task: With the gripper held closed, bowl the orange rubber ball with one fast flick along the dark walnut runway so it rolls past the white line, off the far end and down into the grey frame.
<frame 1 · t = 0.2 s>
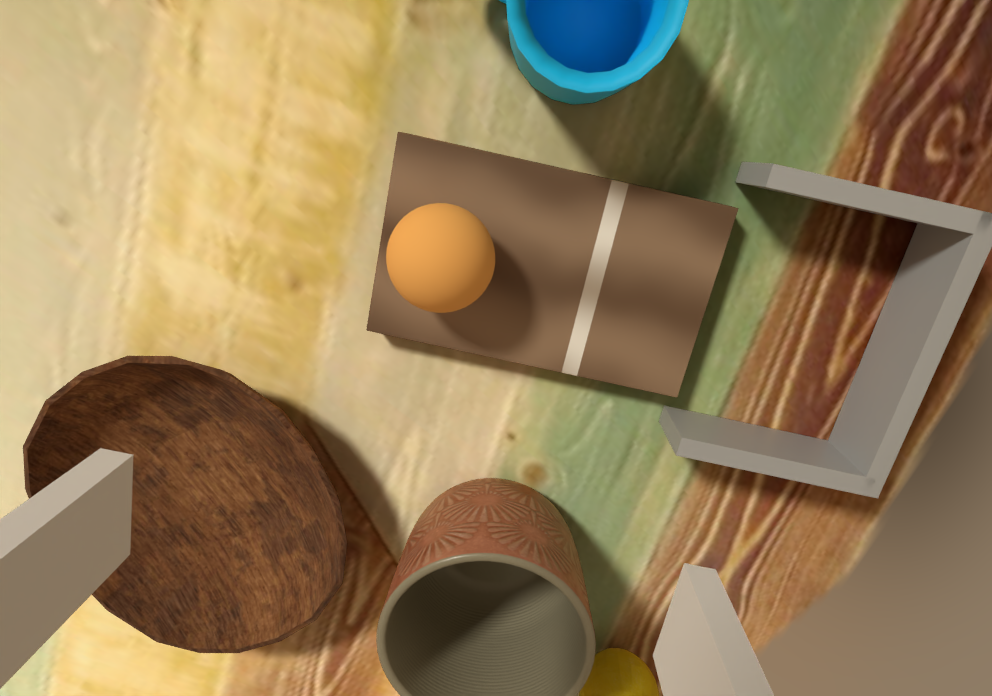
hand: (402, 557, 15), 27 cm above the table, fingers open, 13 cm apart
ball: (441, 258, 35), point 5 cm above the table, touching runway
runway: (543, 265, 40), on the table
bowl: (222, 477, 46), on the table
planter: (493, 534, 46), on the table
fruit: (611, 651, 49), on the table
grey frame: (788, 319, 41), on the table
mug: (549, 14, 36), on the table
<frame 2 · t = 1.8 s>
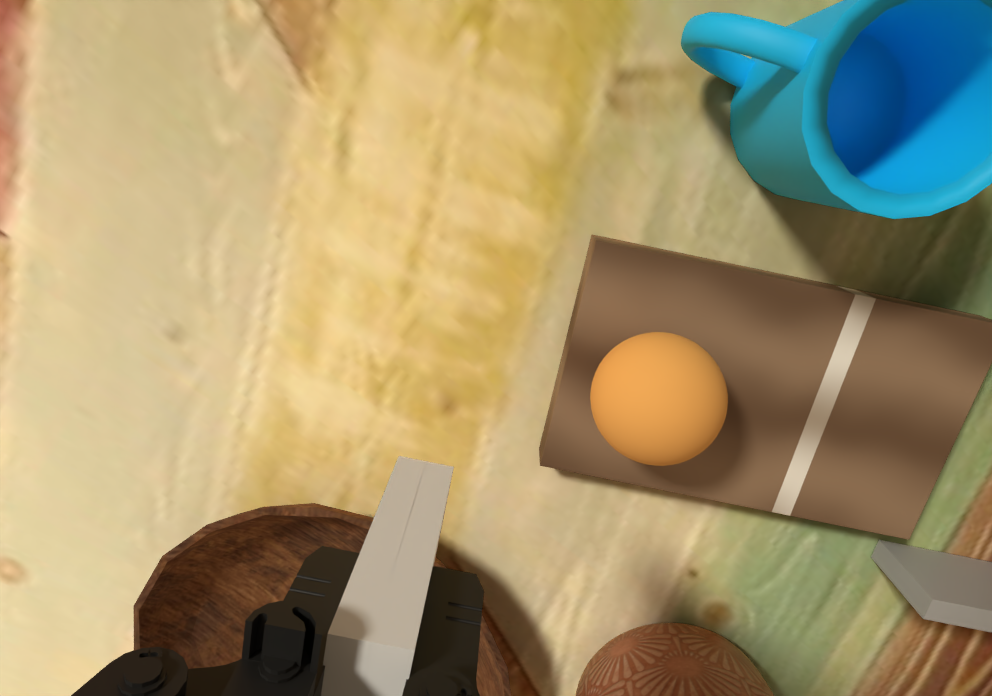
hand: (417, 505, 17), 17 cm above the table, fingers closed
ball: (657, 398, 29), point 5 cm above the table, touching runway
runway: (749, 385, 34), on the table
bowl: (348, 616, 40), on the table
planter: (661, 678, 40), on the table
mug: (779, 94, 30), on the table
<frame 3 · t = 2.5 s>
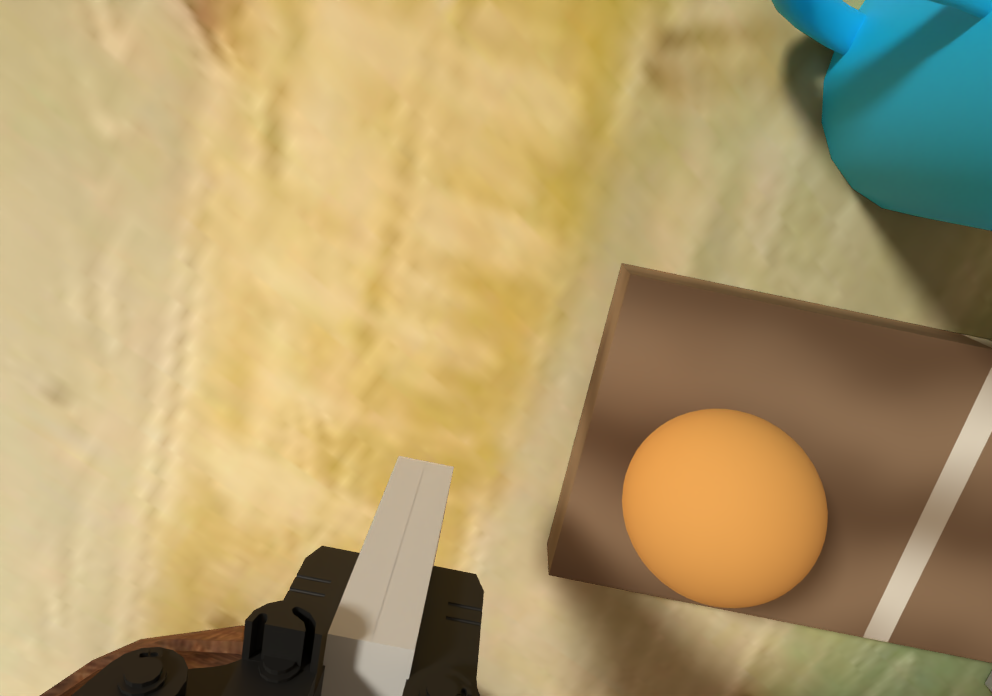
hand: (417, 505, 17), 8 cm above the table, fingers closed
ball: (719, 504, 20), point 5 cm above the table, touching runway
runway: (832, 465, 25), on the table
mug: (895, 65, 21), on the table
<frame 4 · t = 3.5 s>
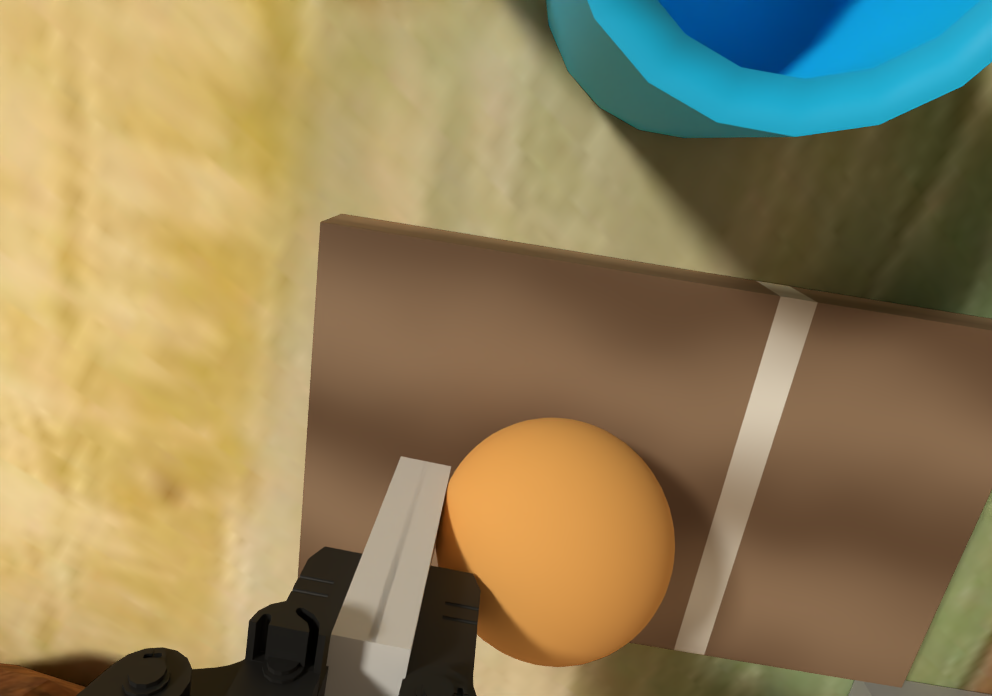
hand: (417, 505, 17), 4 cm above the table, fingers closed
ball: (553, 535, 16), point 5 cm above the table, tilted 36°, touching gripper
runway: (629, 446, 21), on the table
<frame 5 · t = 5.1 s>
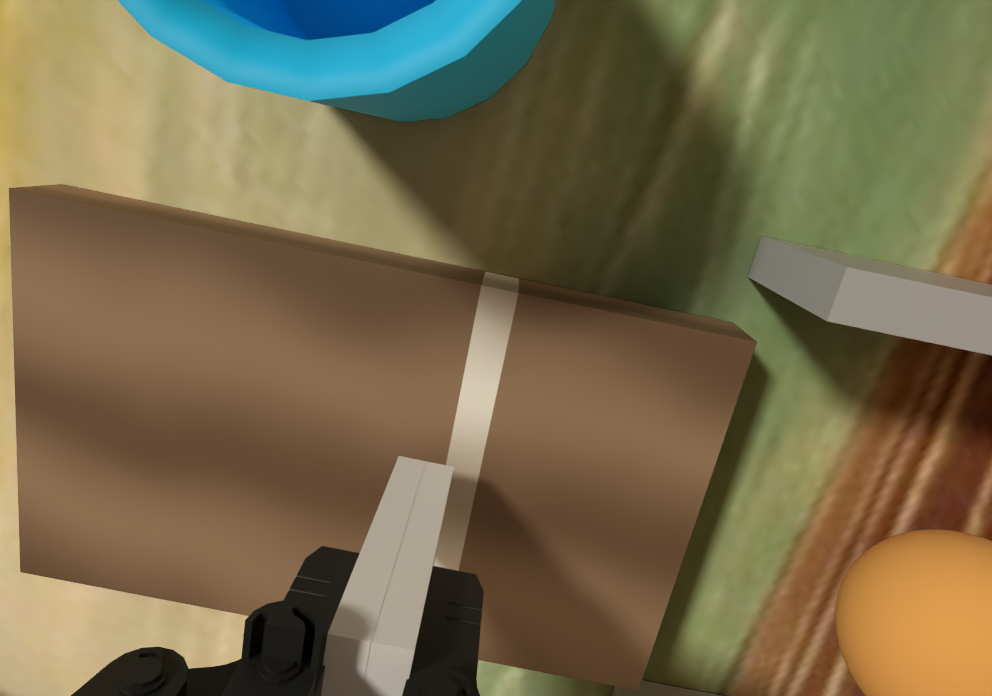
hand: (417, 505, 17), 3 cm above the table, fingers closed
ball: (953, 637, 18), point 3 cm above the table, tilted 76°
runway: (373, 437, 20), on the table
grey frame: (855, 533, 21), on the table
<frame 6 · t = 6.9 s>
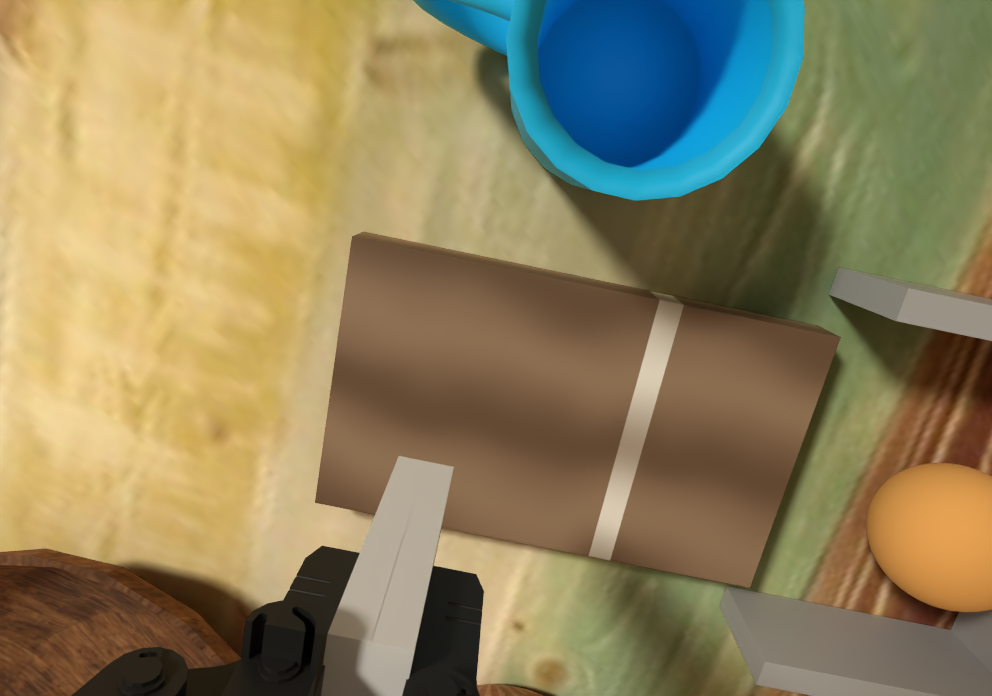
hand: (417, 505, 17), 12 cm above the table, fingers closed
ball: (948, 535, 27), point 3 cm above the table, tilted 56°
runway: (561, 407, 29), on the table
bowl: (130, 677, 34), on the table
grey frame: (900, 475, 29), on the table
mug: (566, 68, 25), on the table
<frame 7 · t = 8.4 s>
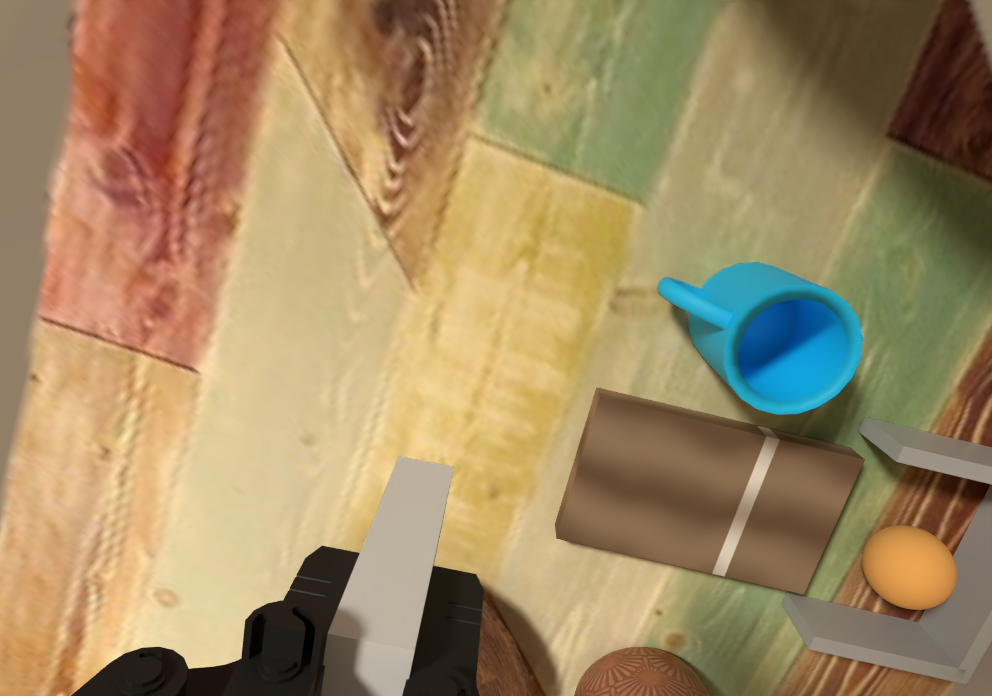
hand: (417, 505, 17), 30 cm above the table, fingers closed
ball: (907, 566, 48), point 3 cm above the table, tilted 39°
runway: (699, 487, 50), on the table
bowl: (411, 637, 55), on the table
planter: (635, 686, 56), on the table
grey frame: (893, 532, 50), on the table
mug: (721, 307, 46), on the table
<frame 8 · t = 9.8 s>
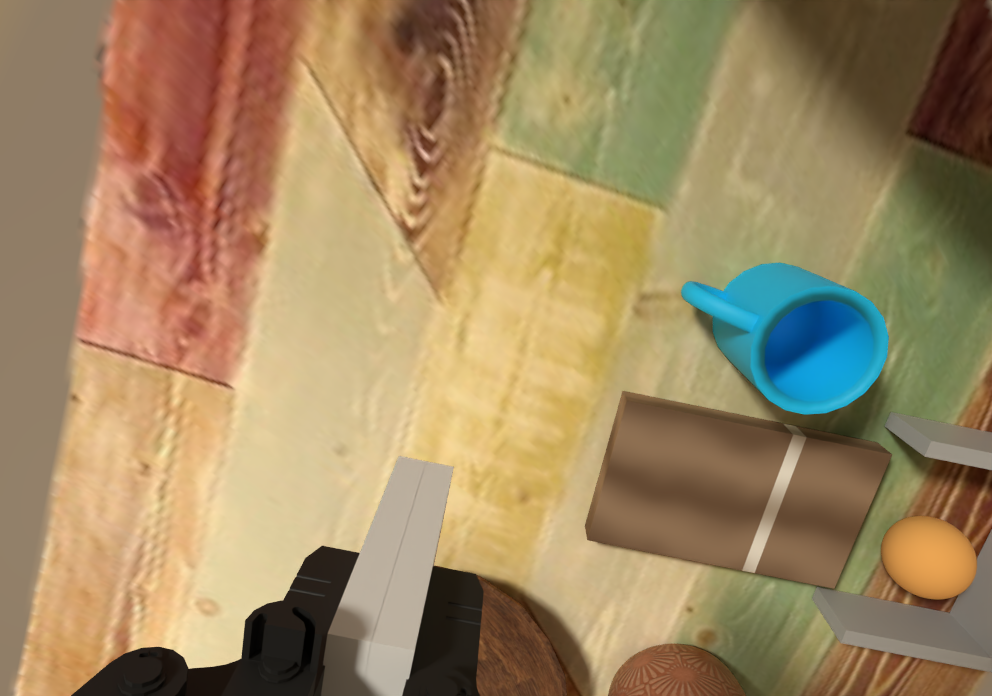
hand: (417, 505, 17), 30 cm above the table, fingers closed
ball: (927, 556, 48), point 3 cm above the table, tilted 23°
runway: (726, 485, 50), on the table
bowl: (446, 639, 56), on the table
planter: (668, 682, 57), on the table
grey frame: (922, 524, 51), on the table
mug: (744, 308, 46), on the table
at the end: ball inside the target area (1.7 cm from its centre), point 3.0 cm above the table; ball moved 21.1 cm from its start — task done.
